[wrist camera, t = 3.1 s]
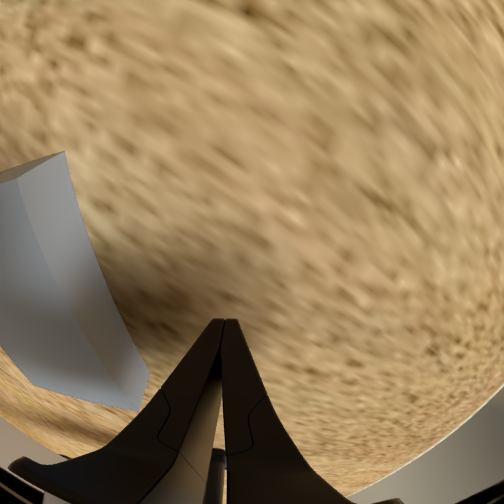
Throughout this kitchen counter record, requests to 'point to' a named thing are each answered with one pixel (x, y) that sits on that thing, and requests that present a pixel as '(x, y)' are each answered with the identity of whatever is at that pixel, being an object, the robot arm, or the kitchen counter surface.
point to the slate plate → (60, 293)
